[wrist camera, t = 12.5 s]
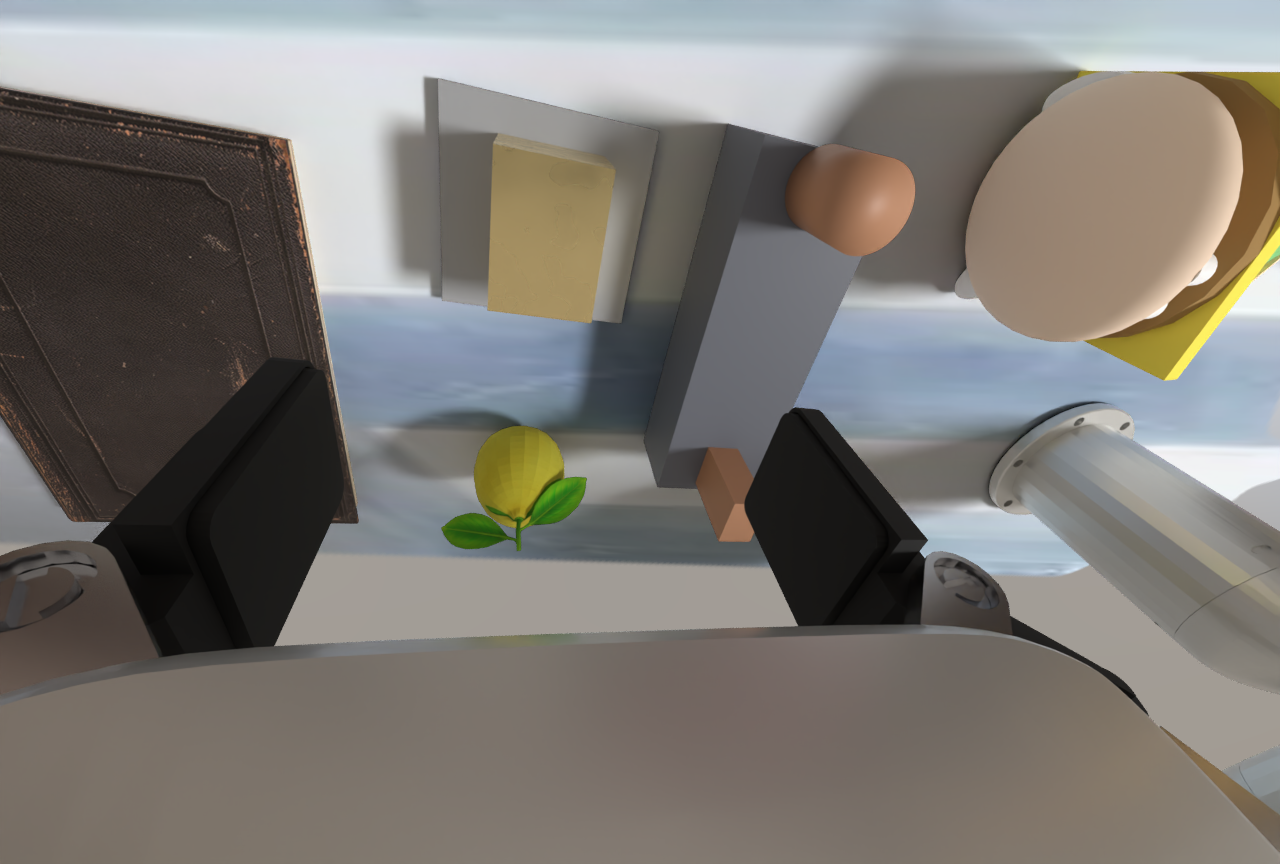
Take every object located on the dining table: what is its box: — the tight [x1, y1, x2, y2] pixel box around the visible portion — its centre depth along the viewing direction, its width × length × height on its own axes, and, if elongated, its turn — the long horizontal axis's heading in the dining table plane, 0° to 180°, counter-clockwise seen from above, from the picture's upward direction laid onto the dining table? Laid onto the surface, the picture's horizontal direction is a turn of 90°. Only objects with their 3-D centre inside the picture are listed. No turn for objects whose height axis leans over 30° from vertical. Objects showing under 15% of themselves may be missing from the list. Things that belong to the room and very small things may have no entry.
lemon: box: [441, 426, 587, 551], centre depth 30 cm, size 7×6×10 cm
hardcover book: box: [0, 87, 359, 523], centre depth 26 cm, size 16×23×2 cm
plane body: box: [644, 124, 915, 542], centre depth 27 cm, size 7×20×10 cm, turn 168°
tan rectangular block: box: [488, 133, 616, 323], centre depth 23 cm, size 5×7×4 cm
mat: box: [438, 79, 659, 324], centre depth 25 cm, size 10×10×1 cm
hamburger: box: [955, 71, 1280, 380], centre depth 25 cm, size 12×8×12 cm
